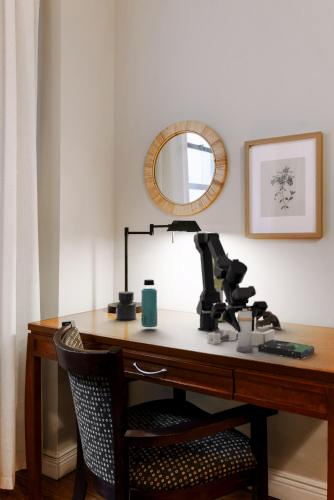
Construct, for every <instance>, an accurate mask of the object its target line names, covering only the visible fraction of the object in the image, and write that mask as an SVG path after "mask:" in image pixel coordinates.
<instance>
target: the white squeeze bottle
mask: <svg viewBox="0 0 334 500" xmlns="http://www.w3.org/2000/svg"><path fill="white" fill-rule="evenodd" d="M236 318H237V321H238V324H239V326H240V330H241V331H240V332H238V331H237V333H238V337H237V344H236V352H239V353H243V354H244V353H245V354H250V353H253V352H254V345H252V311H248V310H247V309H245V308H244V309H242V310H240V311H238V313H237V316H236Z"/></svg>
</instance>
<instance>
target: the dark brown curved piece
mask: <svg viewBox="0 0 334 500" xmlns="http://www.w3.org/2000/svg"><path fill="white" fill-rule="evenodd" d="M261 318H262V319H261ZM266 326H272V329H273V328H278V329H279V330H280V331H282V328H281V326H282V325H281V322H280V319H279V317H278V316H277V315H276V314H274V313H272V311H270V310H266V311H265V313H264V315H263V316H261V317H255V329H256V330H258V328H263V327H266Z"/></svg>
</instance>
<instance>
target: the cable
mask: <svg viewBox="0 0 334 500" xmlns="http://www.w3.org/2000/svg"><path fill="white" fill-rule="evenodd" d="M228 338H229V335H225V336H224V335H220V342H221V341H224V340H225V341H227V340H226V339H228ZM236 338H238V332H236ZM212 341H213V338H212Z"/></svg>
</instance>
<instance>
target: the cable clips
mask: <svg viewBox="0 0 334 500" xmlns="http://www.w3.org/2000/svg"><path fill="white" fill-rule="evenodd" d="M236 333H237V330H235V329H234V330H232V329H231V328H228V329H224V330H223V336H225V335H229V338H228V339H226V340H225V341H235V340H237V337H236ZM220 336H221V333H216V332H214V331H211V332H209V333H207V344H211V345H217V344H218V345H219V344H221V341H220ZM212 338H213V341H212Z"/></svg>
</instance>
